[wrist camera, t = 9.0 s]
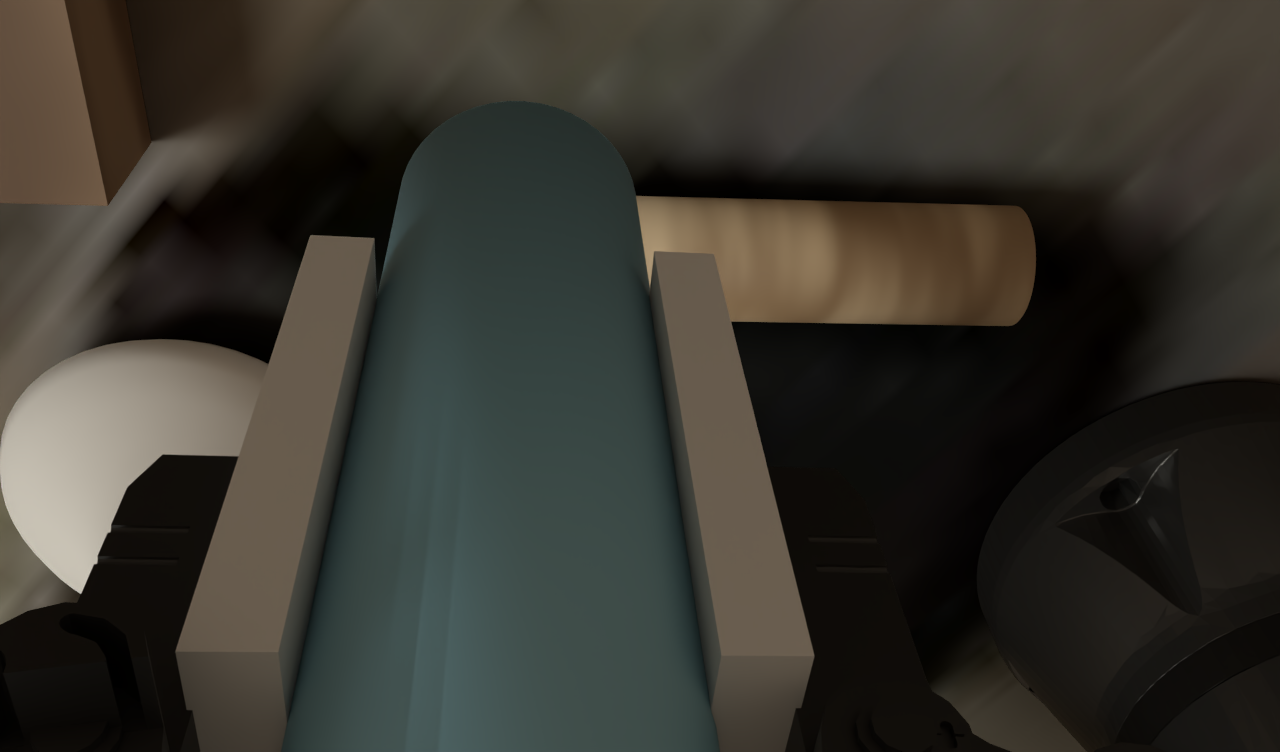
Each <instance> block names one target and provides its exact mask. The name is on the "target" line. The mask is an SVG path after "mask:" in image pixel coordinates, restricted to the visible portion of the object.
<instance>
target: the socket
mask: <svg viewBox="0 0 1280 752" xmlns="http://www.w3.org/2000/svg"><path fill="white" fill-rule="evenodd" d="M150 144H151V137H150V131H149V126H148V120H147V115H146V110H145V104H144V99H143V93H142V88H141V82H140V77H139V71H138V66H137V60H136V55H135V49H134V44H133V38H132V33H131V27H130V22H129V16H128V11H127V5H126V0H0V203H23V204H61V205H99V206H108V205H109V203H110V202H111V200H112V199H113V197H114V196H115V195H116V193H117V192H118V190H119V189H120V187H121V186H122V184H123V183H124V182H125V180H126V179H127V177H128V176H129V174H130V173H131V171H132V170H133V168H134V167H135V166H136V164H137V163H138V161H139V160H140V158H141V157H142V155H143V154H144V153H145V151H146V150H147V148H148V147H149V145H150Z"/></svg>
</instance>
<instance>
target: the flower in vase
mask: <svg viewBox="0 0 1280 752" xmlns="http://www.w3.org/2000/svg"><path fill="white" fill-rule="evenodd" d="M268 365H269V364H267V363H265V362H263V361H261V360H259V359H257V358H254V357H252V356H249V355H246V354H244V353H241V352H239V351H236V350H232V349H229V348H225V347H221V346H218V345H214V344H209V343H202V342H196V341H189V340H173V339H153V340H134V341H126V342H120V343H114V344H108V345H104V346H100V347H97V348H94V349H90V350H87V351H84V352H81V353H79V354H77V355H74V356H72V357H70V358H68V359H65V360H63V361H61V362H60V363H58V364H57V365H55V366H53V367H52V368H50V369H49V370H47V371H46V372H44V373H43V374H42V375H41V376H39V377H38V378H37V379H36V380H35V381H34V382H33V383H31V384H30V385H29V386H28V387H27V389H26V390H25V391H24V392H23V394H22V395H21V396H20V397H19V399H18V400H17V401H16V403H15V405H14V406H13V408H12V410H11V412H10V414H9V416H8V418H7V421H6V424H5V427H4V430H3V433H2V438H1V447H0V475H1V488H2V492H3V496H4V500H5V504H6V507H7V510H8V512H9V514H10V517H11V519H12V521H13V523H14V525H15V527H16V528H17V530H18V531H19V533H20V535H21V536H22V538H23V539H24V541H25V542H26V543H27V544H28V546H29V547H30V548H31V549H32V551H33V552H34V553H35V554H36V555H37V556H38V557H39V558H40V559H41V560H42V562H43V563H44V564H45V565H46V566H47V567H48V568H49V569H50V570H51V571H52V572H54V573H55V574H56V575H57V576H58V577H59V578H60V579H61V580H62V581H64V582H65V583H66V584H67V585H69V586H70V587H71V588H73V589H74V590H75V591H77V592H79V593H80V594H81V593H82V591H83V588H84V586H85V584H86V581H87V579H88V577H89V574H90V572H91V570H92V568H93V565H94V564H97V561H98V557H97V556H98V554H99V551H100V549H101V547H102V544H103V542H104V540H105V537H106V535H107V533H110V532H111V524H112V521H113V519H114V517H115V514H116V512H117V510H118V507H119V505H120V503H121V500H122V498H123V496H124V493H125V491H126V489H127V487H128V486H129V485H130V484H131V483H132V482H133V481H134V480H135V479H137V478H138V477H139V476H140V475H141V474H142V473H143V472H144V471H145V470H146V469H147V468H148V467H150V466H151V465H152V464H153V463H154V462H155V461H156V460H157V459H158V458H159V457H160V456H162V455H163V454H167V455H207V456H239V454H240V451H241V448H242V445H243V441H244V438H245V435H246V432H247V429H248V426H249V423H250V420H251V417H252V414H253V411H254V408H255V405H256V401H257V398H258V395H259V392H260V389H261V386H262V383H263V380H264V377H265V374H266V371H267V368H268Z"/></svg>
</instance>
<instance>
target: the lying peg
mask: <svg viewBox="0 0 1280 752" xmlns="http://www.w3.org/2000/svg"><path fill="white" fill-rule="evenodd" d="M636 200H637V206H638V213H639V220H640V226H641V233H642V239H643V246H644V253H645V259H646V266H647V272H648V279H649V286H650V284H651V275H652V266H653V257H654V251H662V252H684V253H705V254H714V256H715V260H716V264H717V268H718V272H719V276H720V280H721V284H722V288H723V292H724V296H725V300H726V304H727V308H728V312H729V316H730V320H731V321H738V322H799V323H859V324H920V325H981V326H1012V325H1014V324H1016V323H1017V322H1018V321H1019V320H1020V319H1021V317H1022V316H1023V314H1024V313H1025V311H1026V309H1027V306H1028V304H1029V301H1030V298H1031V294H1032V290H1033V285H1034V279H1035V270H1036V248H1035V239H1034V233H1033V229H1032V226H1031V222H1030V220H1029V218H1028V216H1027V214H1026V213H1025V211H1024V210H1023V209H1022V208H1020V207H1018V206H1007V205H968V204H930V203H891V202H852V201H814V200H775V199H736V198H698V197H659V196H636Z"/></svg>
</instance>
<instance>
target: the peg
mask: <svg viewBox="0 0 1280 752" xmlns="http://www.w3.org/2000/svg"><path fill="white" fill-rule="evenodd" d="M649 292H650V286H649V279H648V272H647V266H646V259H645V253H644V246H643V239H642V233H641V226H640V220H639V213H638V206H637V200H636V193H635V189H634V185H633V181H632V178H631V176H630V173H629V171H628V168H627V166H626V164H625V163H624V161H623V159H622V158H621V156H620V154H619V153H618V151H617V150H616V149H615V148H614V146H613V145H612V144H611V143H610V141H609V140H608V139H607V138H606V137H604V136H603V135H602V134H601V133H600V132H599V131H598V130H597V129H595V128H594V127H593V126H591V125H590V124H589V123H587V122H586V121H584V120H582V119H580V118H579V117H577V116H575V115H573V114H571V113H569V112H566V111H564V110H561V109H559V108H556V107H552V106H548V105H545V104H541V103H533V102H525V101H506V102H497V103H490V104H486V105H482V106H478V107H475V108H472V109H470V110H467V111H464V112H462V113H460V114H458V115H456V116H454V117H452V118H451V119H449V120H447V121H446V122H444V123H443V124H442V125H440V126H439V127H438V128H436V129H435V130H434V131H433V132H432V133H431V134H430V135H429V136H428V137H427V138H426V139H425V140H424V141H423V142H422V143H421V145H420V146H419V147H418V149H417V150H416V151H415V152H414V154H413V156H412V158H411V160H410V162H409V163H408V165H407V168H406V171H405V173H404V176H403V179H402V183H401V188H400V193H399V197H398V202H397V207H396V212H395V216H394V221H393V226H392V230H391V235H390V240H389V245H388V249H387V254H386V259H385V263H384V268H383V273H382V278H381V282H380V287H379V292H378V296H377V301H376V306H375V311H374V315H373V320H372V325H371V329H370V334H369V339H368V344H367V348H366V353H365V358H364V362H363V367H362V372H361V377H360V381H359V386H358V391H357V395H356V400H355V405H354V410H353V414H352V419H351V424H350V428H349V433H348V438H347V443H346V447H345V452H344V457H343V462H342V466H341V471H340V476H339V480H338V485H337V490H336V495H335V499H334V504H333V509H332V514H331V518H330V523H329V528H328V533H327V537H326V542H325V547H324V551H323V556H322V561H321V566H320V570H319V575H318V580H317V585H316V589H315V594H314V599H313V604H312V608H311V613H310V618H309V622H308V627H307V632H306V637H305V641H304V646H303V651H302V656H301V660H300V665H299V670H298V674H297V679H296V684H295V689H294V693H293V698H292V703H291V708H290V712H289V717H288V722H287V725H286V730H285V735H284V740H283V744H282V749H281V752H720V748H719V741H718V735H717V728H716V725H715V721H714V718H713V715H712V711H711V706H710V700H709V693H708V686H707V680H706V673H705V666H704V660H703V653H702V646H701V639H700V633H699V626H698V619H697V613H696V606H695V599H694V593H693V586H692V579H691V573H690V566H689V559H688V553H687V546H686V539H685V533H684V526H683V519H682V512H681V506H680V499H679V492H678V486H677V479H676V472H675V466H674V459H673V452H672V446H671V439H670V432H669V425H668V419H667V412H666V405H665V399H664V392H663V385H662V379H661V372H660V365H659V359H658V352H657V345H656V339H655V332H654V325H653V318H652V312H651V305H650V298H649Z"/></svg>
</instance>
